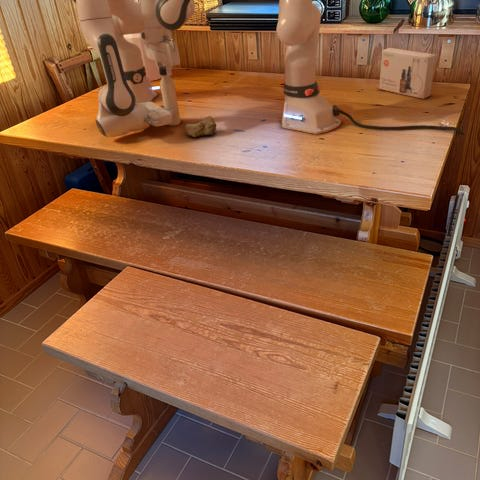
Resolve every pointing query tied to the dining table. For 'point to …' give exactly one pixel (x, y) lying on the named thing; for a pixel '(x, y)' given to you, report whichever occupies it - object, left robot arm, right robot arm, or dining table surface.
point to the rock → (202, 127)
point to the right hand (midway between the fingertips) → (165, 74)
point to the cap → (162, 70)
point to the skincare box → (407, 72)
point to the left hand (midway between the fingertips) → (173, 108)
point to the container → (145, 57)
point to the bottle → (169, 97)
